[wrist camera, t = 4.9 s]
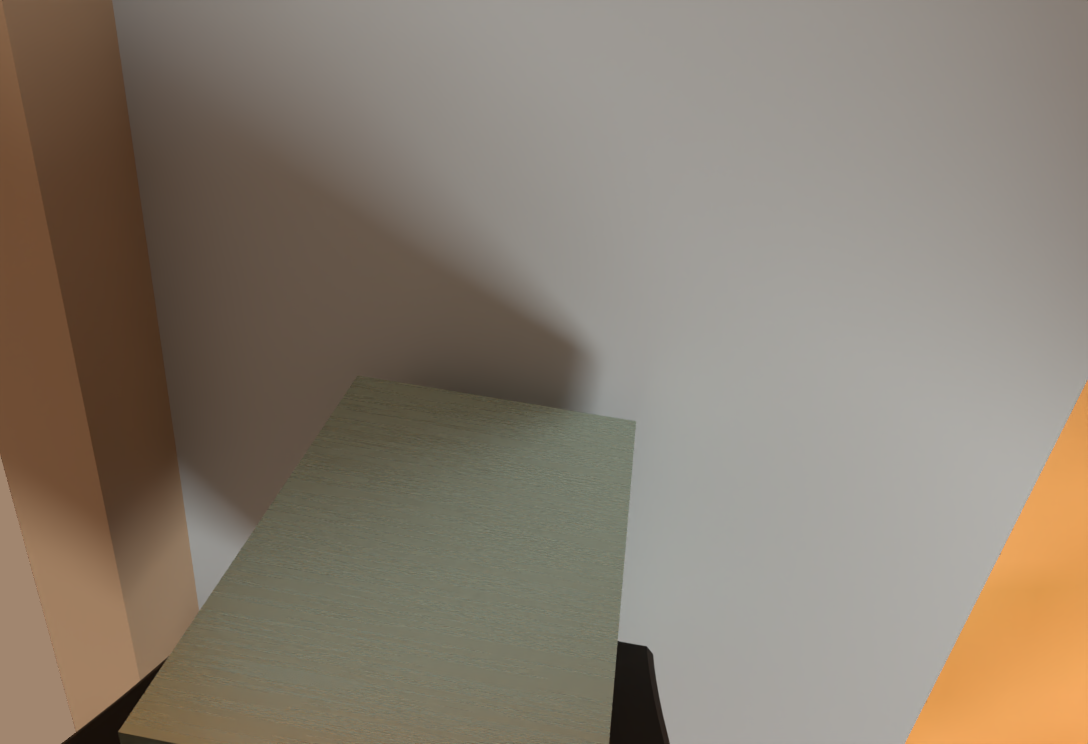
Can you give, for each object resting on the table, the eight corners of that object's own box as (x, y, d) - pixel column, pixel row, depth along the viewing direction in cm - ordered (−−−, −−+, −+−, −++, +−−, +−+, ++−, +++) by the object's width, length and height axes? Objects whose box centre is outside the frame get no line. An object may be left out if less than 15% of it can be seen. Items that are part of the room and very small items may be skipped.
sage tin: (635, 421, 12) (601, 826, 7) (582, 707, 15) (529, 1143, 10) (347, 373, 12) (101, 728, 7) (350, 664, 15) (179, 1064, 10)
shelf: (1500, -591, 8) (1917, -832, 5) (747, 1008, 23) (755, 1151, 20) (-88, -715, 9) (-411, -964, 6) (203, 893, 24) (146, 1015, 21)
